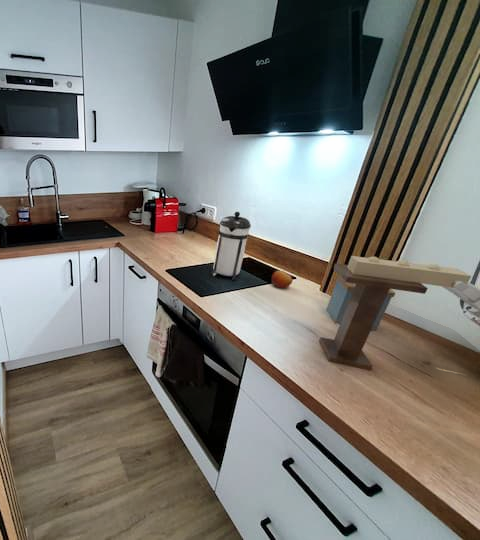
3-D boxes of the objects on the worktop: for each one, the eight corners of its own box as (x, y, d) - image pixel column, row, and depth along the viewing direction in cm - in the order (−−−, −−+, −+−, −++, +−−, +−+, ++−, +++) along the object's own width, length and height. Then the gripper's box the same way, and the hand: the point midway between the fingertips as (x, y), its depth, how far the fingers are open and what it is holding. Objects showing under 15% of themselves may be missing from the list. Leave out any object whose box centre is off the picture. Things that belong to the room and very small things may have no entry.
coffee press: (250, 280, 130) (266, 215, 118) (218, 282, 127) (230, 215, 115) (231, 265, 146) (243, 207, 134) (201, 267, 143) (211, 207, 131)
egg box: (451, 281, 71) (460, 264, 69) (464, 289, 67) (474, 271, 65) (346, 267, 77) (352, 251, 75) (353, 274, 73) (359, 257, 72)
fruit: (263, 278, 129) (276, 265, 126) (277, 287, 130) (290, 274, 127) (269, 286, 122) (284, 272, 118) (283, 295, 123) (298, 282, 119)
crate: (364, 315, 105) (380, 279, 99) (377, 331, 95) (395, 293, 90) (325, 308, 108) (337, 274, 103) (333, 323, 99) (348, 286, 93)
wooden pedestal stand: (368, 351, 86) (405, 272, 75) (383, 373, 77) (428, 288, 67) (308, 338, 91) (335, 263, 80) (316, 358, 82) (347, 276, 72)
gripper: (475, 282, 75) (429, 252, 76) (549, 323, 58) (489, 282, 59) (449, 298, 79) (406, 268, 79) (513, 341, 61) (456, 302, 62)
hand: (442, 275), depth 69 cm, fingers open, 8 cm apart
